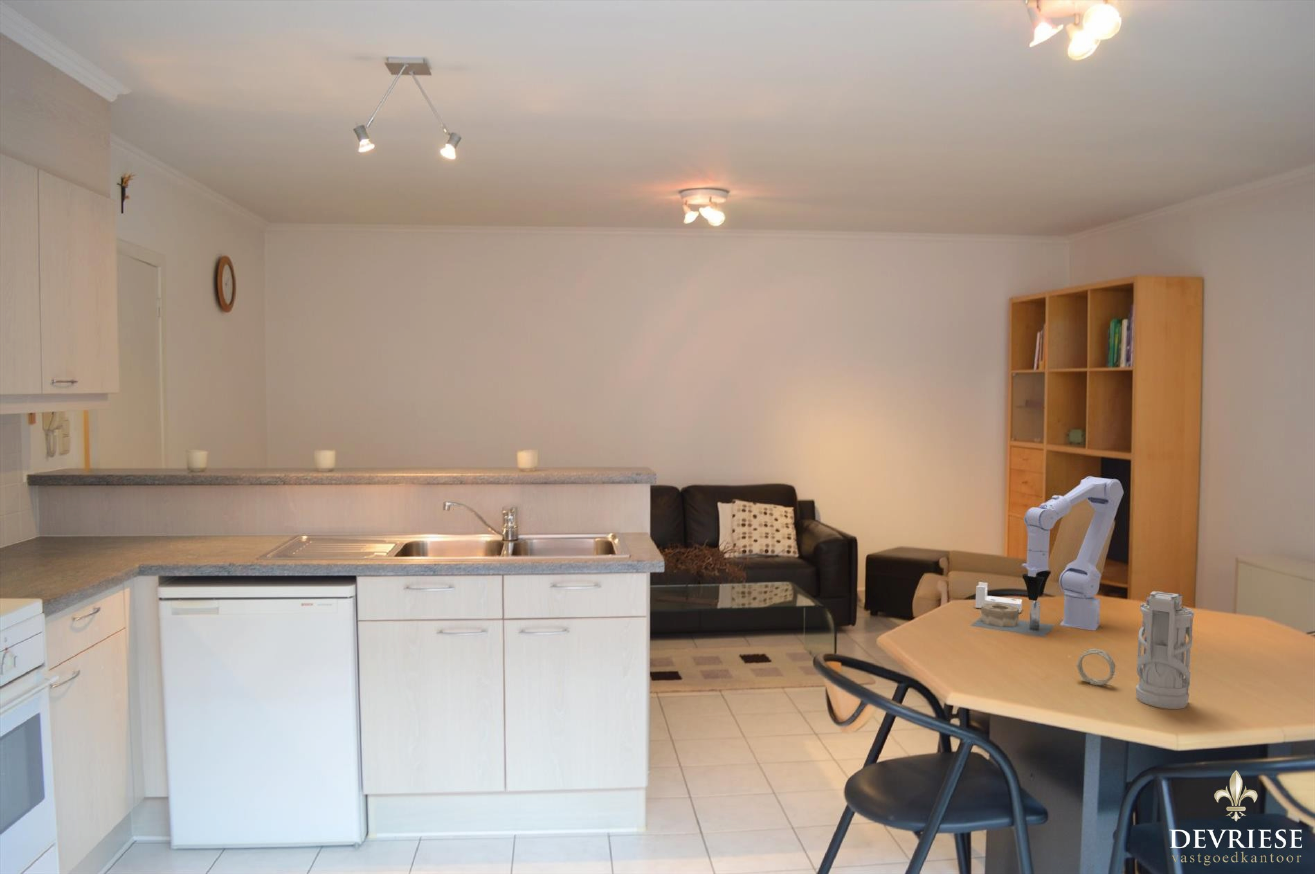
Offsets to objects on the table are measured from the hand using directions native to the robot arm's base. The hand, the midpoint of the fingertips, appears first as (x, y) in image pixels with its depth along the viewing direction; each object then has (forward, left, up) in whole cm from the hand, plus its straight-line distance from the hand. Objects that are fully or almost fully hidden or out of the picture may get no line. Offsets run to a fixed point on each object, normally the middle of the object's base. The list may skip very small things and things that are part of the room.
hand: (1035, 597), depth 267 cm
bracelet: (-22, +43, -10) cm, 49 cm away
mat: (+6, -1, -9) cm, 11 cm away
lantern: (-36, +49, -10) cm, 62 cm away
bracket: (+14, -20, -10) cm, 27 cm away
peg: (0, 0, -9) cm, 9 cm away
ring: (+10, -2, -9) cm, 14 cm away
